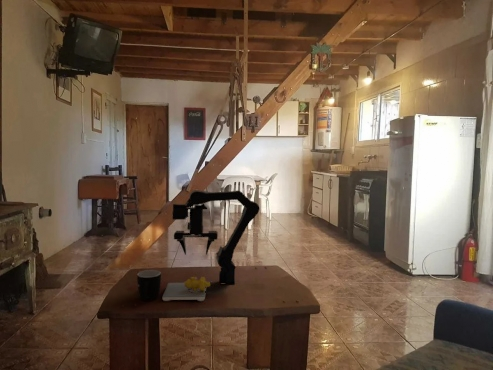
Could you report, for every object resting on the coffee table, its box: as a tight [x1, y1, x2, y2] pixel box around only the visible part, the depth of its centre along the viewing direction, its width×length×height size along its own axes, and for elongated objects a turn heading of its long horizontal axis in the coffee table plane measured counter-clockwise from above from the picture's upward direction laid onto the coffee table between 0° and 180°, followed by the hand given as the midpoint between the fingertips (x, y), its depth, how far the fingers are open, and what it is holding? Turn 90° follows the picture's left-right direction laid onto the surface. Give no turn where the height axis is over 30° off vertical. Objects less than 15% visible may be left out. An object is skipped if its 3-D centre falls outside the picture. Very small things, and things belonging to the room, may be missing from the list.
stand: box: [162, 282, 207, 302], centre depth 147 cm, size 16×15×2 cm
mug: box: [136, 269, 162, 302], centre depth 140 cm, size 12×9×10 cm
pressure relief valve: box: [184, 276, 211, 291], centre depth 148 cm, size 6×12×10 cm
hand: (196, 254), depth 159 cm, fingers open, 9 cm apart
